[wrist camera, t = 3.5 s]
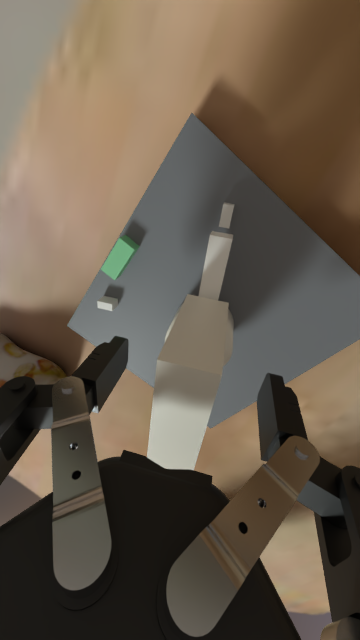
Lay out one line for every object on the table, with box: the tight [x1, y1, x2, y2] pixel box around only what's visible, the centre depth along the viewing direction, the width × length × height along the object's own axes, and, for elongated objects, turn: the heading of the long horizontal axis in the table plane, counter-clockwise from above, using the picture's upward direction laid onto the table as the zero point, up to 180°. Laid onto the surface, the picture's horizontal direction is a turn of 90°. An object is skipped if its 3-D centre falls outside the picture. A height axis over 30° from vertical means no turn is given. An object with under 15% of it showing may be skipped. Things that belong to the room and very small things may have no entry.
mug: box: [0, 334, 67, 387], centre depth 25 cm, size 8×10×10 cm
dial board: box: [67, 113, 360, 428], centre depth 19 cm, size 17×18×2 cm
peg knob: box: [147, 231, 234, 470], centre depth 13 cm, size 10×4×9 cm, turn 175°
